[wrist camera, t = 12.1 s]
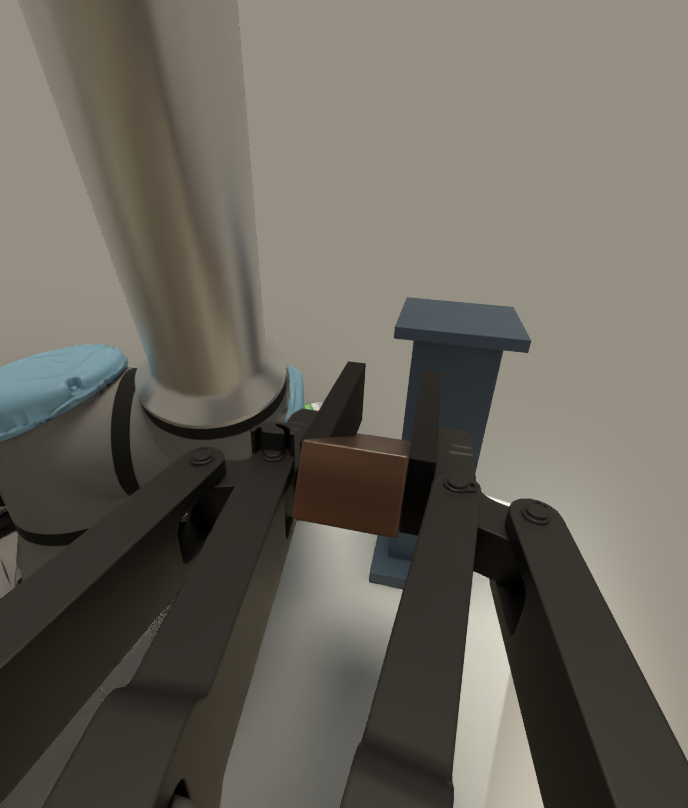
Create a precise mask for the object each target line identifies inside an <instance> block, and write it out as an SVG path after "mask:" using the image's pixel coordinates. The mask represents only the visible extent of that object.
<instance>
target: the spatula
mask: <svg viewBox="0 0 688 808" xmlns="http://www.w3.org/2000/svg"><path fill="white" fill-rule="evenodd" d="M410 448H411V441H406V440H398V439H392V438H386V437H379V436H373V435H365V434H358V433H357V434H356V436H344V437H332V438H319V439H306V440H303V442H302V448H301V455H300V462H299V469H298V475H297V482H296V489H295V496H294V502H293V509H292V518H293V519H296V520H302V521H307V522H312V523H317V524H322V525H328V526H333V527H338V528H343V529H348V530H354V531H359V532H364V533H369V534H374V535H380V536H385V537H390V538H397V537H398V532H399V527H400V522H401V516H402V511H403V504H404V497H405V489H406V482H407V474H408V467H409V459H410V453H411V452H410Z"/></svg>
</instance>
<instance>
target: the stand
mask: <svg viewBox="0 0 688 808" xmlns="http://www.w3.org/2000/svg"><path fill="white" fill-rule="evenodd" d="M394 338H395V339H405V340H413V341H414V343H413V351H412V359H411V368H410V376H409V384H408V393H407V401H406V409H405V417H404V425H403V433H402V440H406V441H412V435H413V428H414V422H415V416H416V409H417V403H418V397H419V390H420V384H421V378H422V371H423V370H424V371H433V372H441V389H440V408H439V427H444V428H451V429H458V430H465V431H466V432H467V433H468V434H469V436H470V437H471V438H472V442H473V453H474V456H473V457H474V465H475V473H476V468H477V464H478V459H479V455H480V450H481V446H482V442H483V437H484V433H485V428H486V424H487V420H488V415H489V411H490V407H491V402H492V398H493V393H494V389H495V385H496V380H497V376H498V371H499V367H500V363H501V358H502V354H503V350H505V351H514V352H524V353H528V351H529V347H530V343H531V340H530V338H529V336H528V334H527V332H526V330H525V328H524V326H523V324H522V322H521V321H520V319H519V317H518V315H517V313H516V311H515V309H514V307H506V306H496V305H484V304H473V303H462V302H451V301H440V300H430V299H419V298H407V299H406V301H405V303H404V306H403V308H402V311H401V313H400V316H399V318H398V321H397V323H396V326H395V332H394ZM399 529H400V527H399ZM417 538H418V536H416V535H411V534H405V533H400V532H398V537H397V538H390V537H385V536H380V535H378V537H377V542H376V546H375V551H374V556H373V560H372V565H371V570H370V578H369V582H373V583H378V584H382V585H387V586H392V587H396V588H401V589H404V585H405V582H406V578H407V574H408V571H409V567H410V564H411V560H412V556H413V553H414V549H415V545H416V542H417Z"/></svg>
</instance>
